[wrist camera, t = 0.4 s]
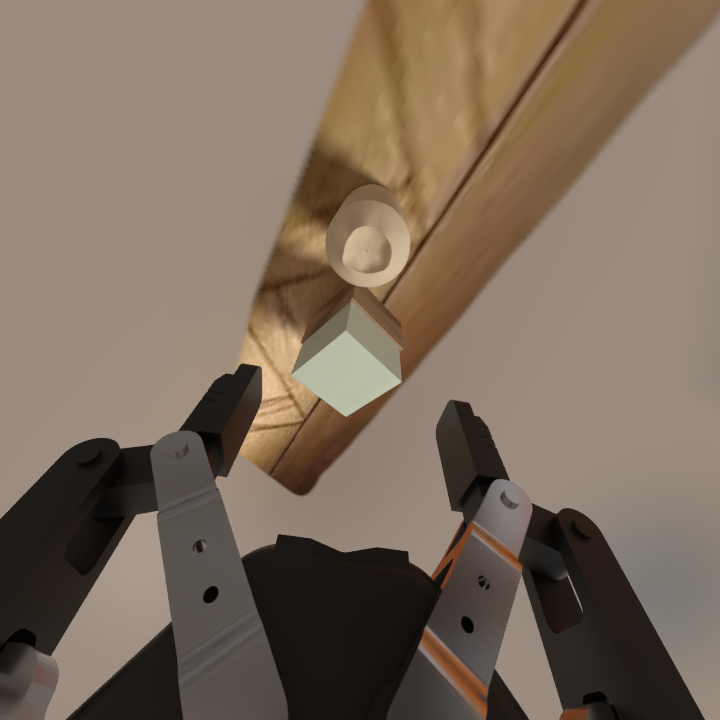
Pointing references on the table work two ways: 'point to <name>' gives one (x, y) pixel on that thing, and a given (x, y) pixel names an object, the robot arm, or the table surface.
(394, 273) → the candle
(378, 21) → the table surface
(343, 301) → the base block
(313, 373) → the top block
